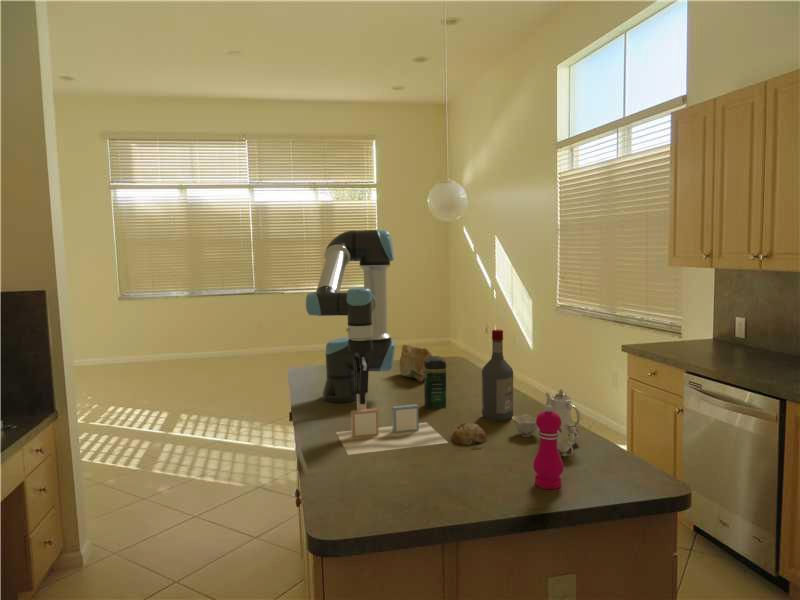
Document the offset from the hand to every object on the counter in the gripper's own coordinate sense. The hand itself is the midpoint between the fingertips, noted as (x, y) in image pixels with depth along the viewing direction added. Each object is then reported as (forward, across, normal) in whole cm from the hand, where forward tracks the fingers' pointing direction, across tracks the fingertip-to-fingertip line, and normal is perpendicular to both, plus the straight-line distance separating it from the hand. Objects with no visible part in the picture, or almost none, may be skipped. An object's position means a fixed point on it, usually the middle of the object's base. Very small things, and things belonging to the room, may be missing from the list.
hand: (361, 413), depth 178 cm
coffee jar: (+7, -22, +32) cm, 39 cm away
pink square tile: (+6, +3, 0) cm, 7 cm away
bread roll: (+8, +16, +29) cm, 34 cm away
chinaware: (+8, +24, +52) cm, 58 cm away
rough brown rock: (+7, -66, +42) cm, 78 cm away
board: (+7, +7, +7) cm, 13 cm away
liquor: (+7, -4, +48) cm, 49 cm away
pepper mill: (+8, +49, +36) cm, 62 cm away
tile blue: (+6, +3, +13) cm, 15 cm away
